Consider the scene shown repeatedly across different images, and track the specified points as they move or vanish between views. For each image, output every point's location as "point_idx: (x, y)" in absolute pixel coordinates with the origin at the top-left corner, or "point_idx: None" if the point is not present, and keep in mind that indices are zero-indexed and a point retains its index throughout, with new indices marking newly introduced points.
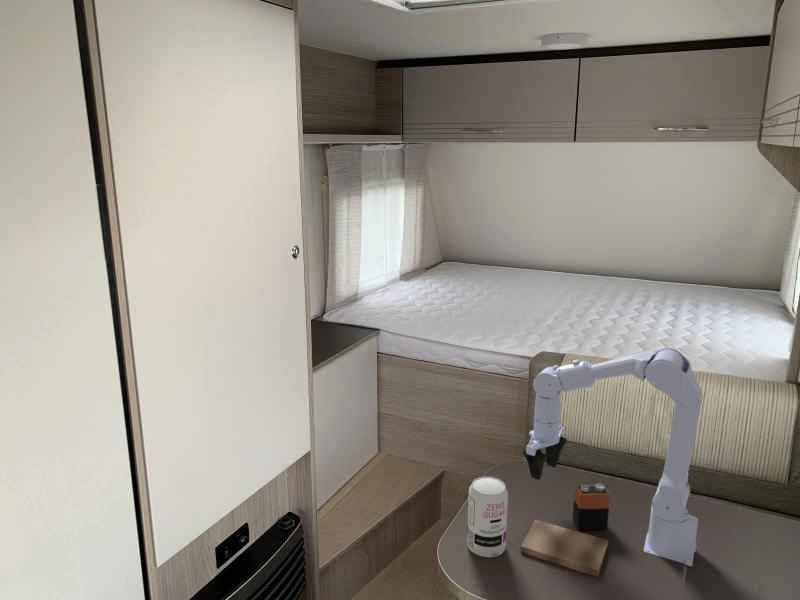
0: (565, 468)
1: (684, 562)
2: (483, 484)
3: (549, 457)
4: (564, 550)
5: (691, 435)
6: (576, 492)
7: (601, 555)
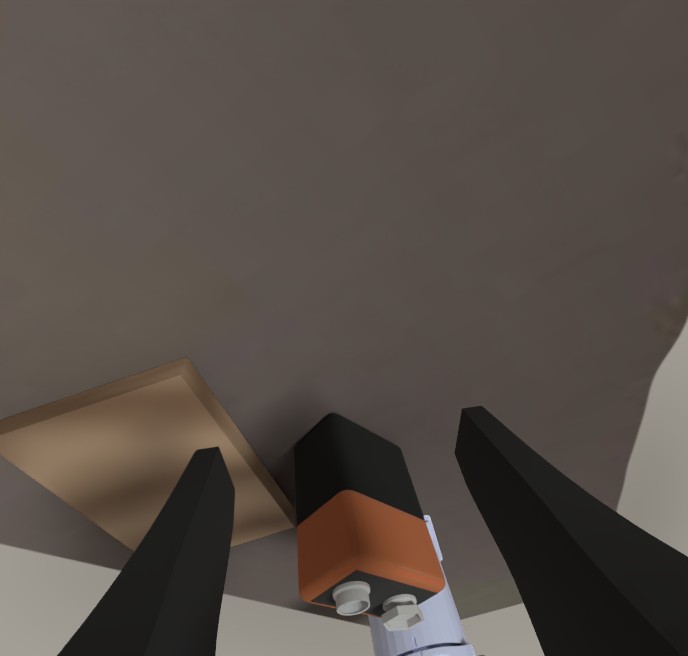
0: None
1: None
2: None
3: (499, 479)
4: (136, 507)
5: None
6: (330, 553)
7: None
